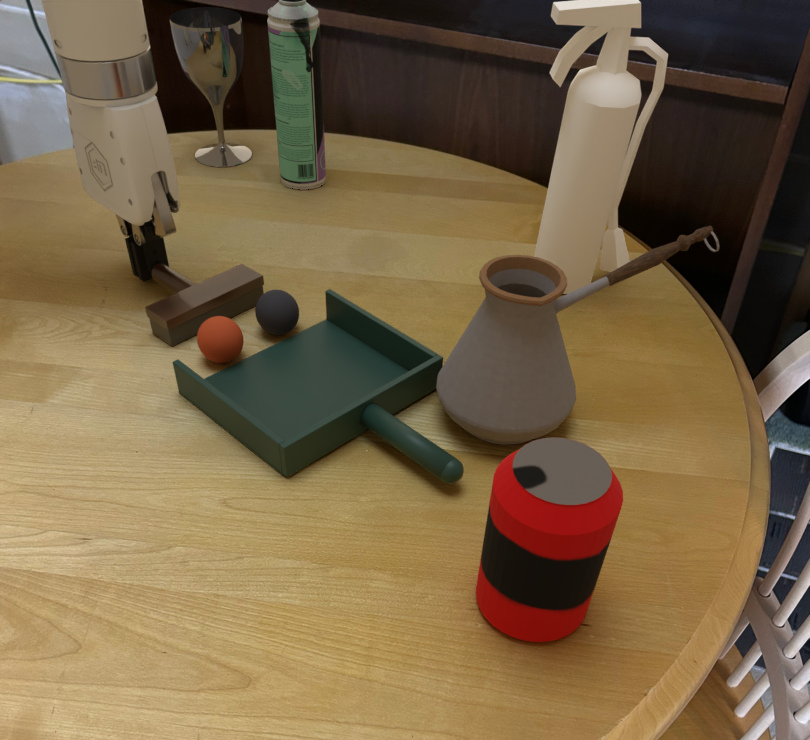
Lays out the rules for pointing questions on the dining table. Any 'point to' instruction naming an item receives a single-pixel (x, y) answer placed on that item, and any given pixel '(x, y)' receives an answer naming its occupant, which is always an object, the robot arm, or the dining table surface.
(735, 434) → the dining table surface
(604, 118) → the fire extinguisher
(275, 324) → the grey ball
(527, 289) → the coffee pot
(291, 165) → the spray can
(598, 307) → the dining table surface
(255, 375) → the dustpan
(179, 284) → the brush
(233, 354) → the terracotta ball
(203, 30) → the wine glass
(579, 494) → the soda can
